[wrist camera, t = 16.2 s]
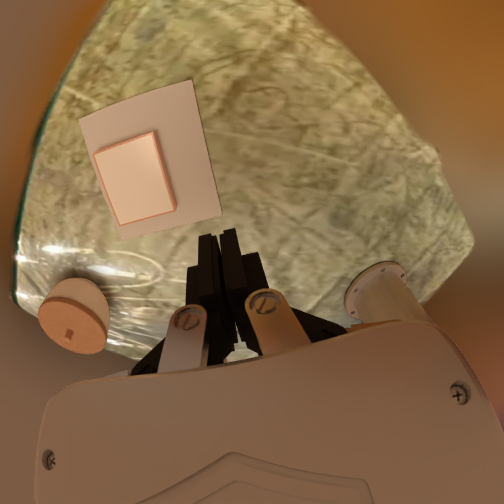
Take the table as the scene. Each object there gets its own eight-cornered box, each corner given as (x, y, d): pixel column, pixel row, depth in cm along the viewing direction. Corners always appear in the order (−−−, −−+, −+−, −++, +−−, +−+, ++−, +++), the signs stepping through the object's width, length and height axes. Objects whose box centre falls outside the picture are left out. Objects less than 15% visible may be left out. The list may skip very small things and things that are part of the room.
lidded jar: (64, 251, 31) (37, 297, 23) (127, 287, 36) (114, 338, 28) (50, 297, 35) (31, 340, 27) (104, 325, 40) (93, 371, 32)
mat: (222, 213, 32) (222, 215, 32) (123, 238, 32) (122, 240, 31) (191, 79, 23) (191, 79, 23) (80, 118, 23) (78, 119, 22)
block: (175, 211, 28) (119, 226, 28) (177, 204, 30) (123, 219, 30) (152, 132, 23) (92, 153, 23) (156, 129, 25) (98, 149, 25)
